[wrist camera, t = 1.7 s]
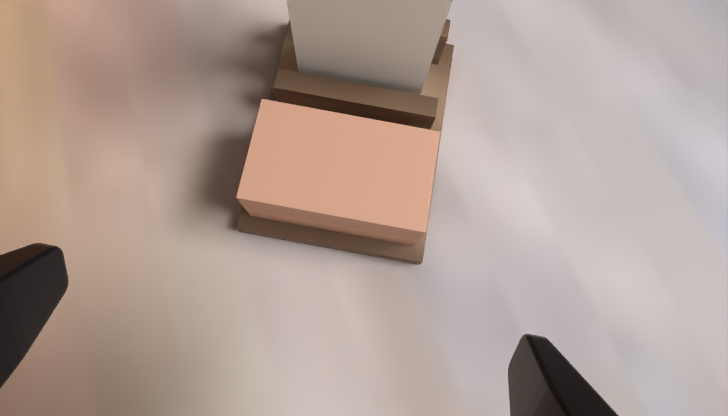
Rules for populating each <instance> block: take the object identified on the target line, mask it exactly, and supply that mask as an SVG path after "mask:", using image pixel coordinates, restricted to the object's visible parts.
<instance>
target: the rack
mask: <svg viewBox="0 0 728 416" xmlns="http://www.w3.org/2000/svg"><path fill="white" fill-rule="evenodd" d="M449 26H450V20H447V19H446V21H445V24H444V27H443V30H442V33H441V35H440V38H439V41H438V44H437V47H436V50H435V53H434V56H433V59H432V62H431V65H430V68H429V71H428V74H427V77H426V80H425V83H424V86H423V89H422V91H421V94H420V95H419V94H414V93H408V92H403V91H398V90H392V89H387V88H381V87H376V86H371V85H365V84H360V83H354V82H349V81H343V80H338V79H333V78H327V77H322V76H316V75H311V74H306V73H300V72H298V66H297V60H296V54H295V48H294V41H293V35H292V29H291V23H290V20H289V23H288V27H287V31H286V35H285V39H284V43H283V47H282V51H281V55H280V59H279V63H278V67H277V71H276V75H275V79H274V83H273V86H272V90H271V94H270V98H269V100H271V101H277V102H282V103H288V104H293V105H299V106H304V107H309V108H315V109H320V110H326V111H331V112H336V113H342V114H347V115H353V116H358V117H364V118H369V119H374V120H380V121H385V122H391V123H396V124H402V125H407V126H412V127H418V128H423V129H429V130H434V131H439V132H441V130H442V123H443V116H444V109H445V102H446V96H447V89H448V82H449V75H450V68H451V61H452V54H453V47H454V45H450V44H446V41H447V38H448V32H449ZM440 137H441V133H440ZM439 144H440V140H439ZM438 151H439V147H438ZM437 158H438V154H437ZM436 164H437V161H436ZM435 171H436V168H435ZM434 178H435V174H434ZM433 185H434V181H433ZM432 192H433V188H432ZM431 199H432V195H431ZM430 206H431V202H430ZM429 213H430V209H429ZM428 219H429V216H428ZM427 226H428V223H427ZM237 229H238V230H239V231H241V232H246V233H252V234H257V235H262V236H268V237H273V238H279V239H284V240H290V241H295V242H301V243H306V244H311V245H317V246H322V247H328V248H333V249H339V250H344V251H350V252H355V253H360V254H366V255H371V256H377V257H382V258H388V259H393V260H398V261H404V262H409V263H415V264H421V263H422V261H423V254H424V247H425V240H426V233H427V229H426V233H425V234H424V235H423V237H422V238H421V239H420V240H419V241H418V242H417V243H416V245H415V246H412V245H406V244H401V243H395V242H390V241H385V240H379V239H374V238H368V237H363V236H357V235H352V234H346V233H341V232H336V231H330V230H325V229H319V228H314V227H308V226H303V225H298V224H292V223H287V222H281V221H276V220H270V219H265V218H259V217H254V216H250V215H249V213H248V212H247V211H246V210H245V208H244V207H243V206H242V208H241V212H240V216H239V220H238V224H237Z"/></svg>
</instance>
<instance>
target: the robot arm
mask: <svg viewBox="0 0 728 416" xmlns="http://www.w3.org/2000/svg"><path fill="white" fill-rule="evenodd" d="M67 287H68V275H67V270H66V265H65V260H64V255H63V252H62V250H61V249H60V248H59V247H57V246H53V245H48V244H43V243H35V244H31V245H29V246H26V247H23V248H20V249H17V250H14V251H11V252H8V253H5V254H2V255H0V388H1V387H2V386H3V384H4V383H5V382H6V380H7V379H8V378H9V377H10V375H11V374H12V373H13V371H14V370H15V369H16V367H17V366H18V365H19V363H20V362H21V361H22V359H23V358H24V356H25V355H26V353H27V352H28V350H29V349H30V347H31V346H32V344H33V343H34V341H35V339H36V338H37V336H38V335H39V333H40V332H41V330H42V328H43V327H44V325H45V324H46V322H47V321H48V319H49V317H50V316H51V314H52V313H53V311H54V309H55V308H56V306H57V305H58V303H59V302H60V300H61V298H62V297H63V295H64V294H65V292H66V289H67ZM508 382H509V399H510V415H511V416H618V415H617V414H616V412H615V411H614V410H613V409H612V408H611V407H610V406H609V405H608V404H607V403H606V402H605V401H604V399H603V398H602V397H601V396H600V395H599V394H598V393H597V392H596V391H595V390H594V389H593V387H592V386H591V385H590V384H589V383H588V382H587V381H586V380H585V379H584V378H583V377H582V376H581V374H580V373H579V372H578V371H577V370H576V369H575V368H574V367H573V366H572V365H571V364H570V363H569V361H568V360H567V359H566V358H565V357H564V356H563V355H562V354H561V353H560V352H559V351H558V350H557V348H556V347H555V346H554V345H553V344H552V343H551V342H550V341H549V340H548V339H547V338H545V337H542V336H537V335H531V334H525V335H523V336H522V338H521V339H520V341H519V344H518V346H517V348H516V350H515V352H514V354H513V357H512V359H511V361H510V364H509V368H508Z"/></svg>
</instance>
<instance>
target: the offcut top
mask: <svg viewBox="0 0 728 416" xmlns="http://www.w3.org/2000/svg"><path fill="white" fill-rule="evenodd" d="M440 133H441V132H439V131H434V130H429V129H423V128H418V127H412V126H407V125H402V124H396V123H391V122H385V121H380V120H374V119H369V118H364V117H358V116H353V115H347V114H342V113H336V112H331V111H326V110H320V109H315V108H309V107H304V106H299V105H293V104H288V103H282V102H277V101H271V100H266V99H262V100H261V103H260V107H259V111H258V115H257V119H256V123H255V127H254V130H253V134H252V138H251V142H250V146H249V150H248V154H247V158H246V161H245V165H244V169H243V173H242V177H241V181H240V185H239V188H238V192H237V196H236V198H237V199H238V201H239V202H240V203H241V204H242V206H243V207H244V208H250V209H255V210H261V211H266V212H271V213H277V214H282V215H288V216H293V217H299V218H304V219H309V220H315V221H320V222H326V223H331V224H337V225H342V226H348V227H353V228H358V229H364V230H369V231H375V232H380V233H386V234H391V235H396V236H402V237H407V238H413V239H418V240H420V239H421V238H422V237H423V235H424V234H425V233H426V229H427V223H428V216H429V209H430V202H431V195H432V188H433V181H434V174H435V168H436V161H437V154H438V147H439V140H440Z"/></svg>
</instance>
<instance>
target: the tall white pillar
mask: <svg viewBox="0 0 728 416" xmlns="http://www.w3.org/2000/svg"><path fill="white" fill-rule="evenodd" d="M451 3H452V0H287V5H288V11H289V17H290V23H291V29H292V35H293V41H294V48H295V54H296V60H297V66H298V72H300V73H306V74H311V75H316V76H322V77H327V78H333V79H338V80H343V81H349V82H354V83H360V84H365V85H371V86H376V87H381V88H387V89H392V90H398V91H403V92H408V93H414V94H419V95H420V94H421V91H422V89H423V86H424V83H425V80H426V77H427V74H428V71H429V68H430V65H431V62H432V59H433V56H434V53H435V50H436V47H437V44H438V41H439V38H440V35H441V33H442V30H443V27H444V24H445V21H446V18H447V15H448V12H449V9H450V6H451Z"/></svg>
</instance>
